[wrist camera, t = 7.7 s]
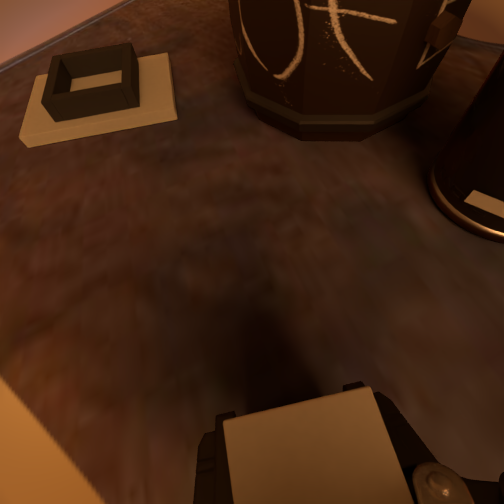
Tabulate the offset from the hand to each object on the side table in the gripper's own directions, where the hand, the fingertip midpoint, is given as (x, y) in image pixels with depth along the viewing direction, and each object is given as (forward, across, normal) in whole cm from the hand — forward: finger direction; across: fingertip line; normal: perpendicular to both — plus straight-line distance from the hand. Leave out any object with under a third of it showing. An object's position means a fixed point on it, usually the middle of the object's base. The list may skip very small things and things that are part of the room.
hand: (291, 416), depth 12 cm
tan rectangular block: (+2, 0, +4) cm, 4 cm away
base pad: (+25, +11, -19) cm, 33 cm away
